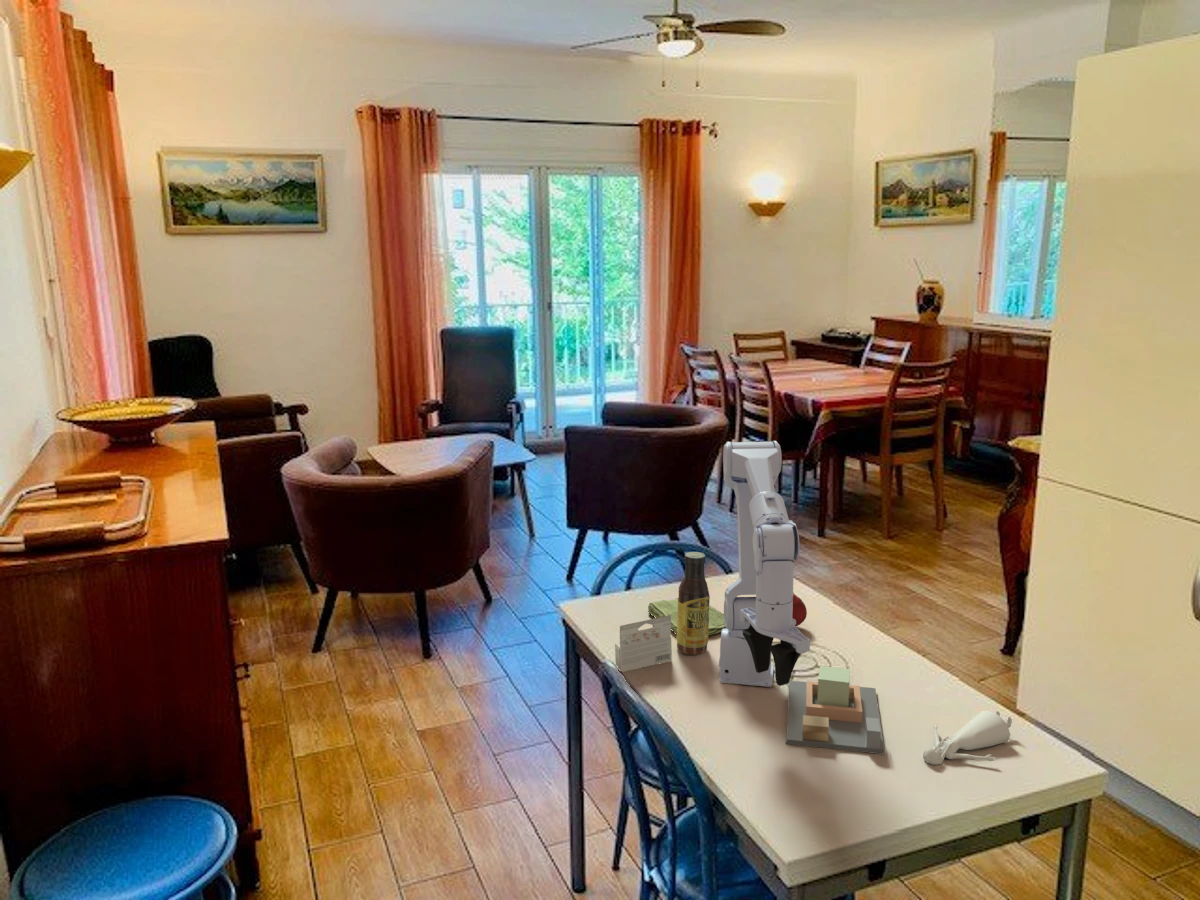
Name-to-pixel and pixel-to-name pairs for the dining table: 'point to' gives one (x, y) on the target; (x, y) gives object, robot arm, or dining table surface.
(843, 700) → the sage green cube
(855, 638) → the dining table surface
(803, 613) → the onion
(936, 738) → the woman figurine
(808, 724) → the tan eraser block
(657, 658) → the ink cartridge box
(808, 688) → the housing
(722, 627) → the washcloth
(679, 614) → the sauce bottle
